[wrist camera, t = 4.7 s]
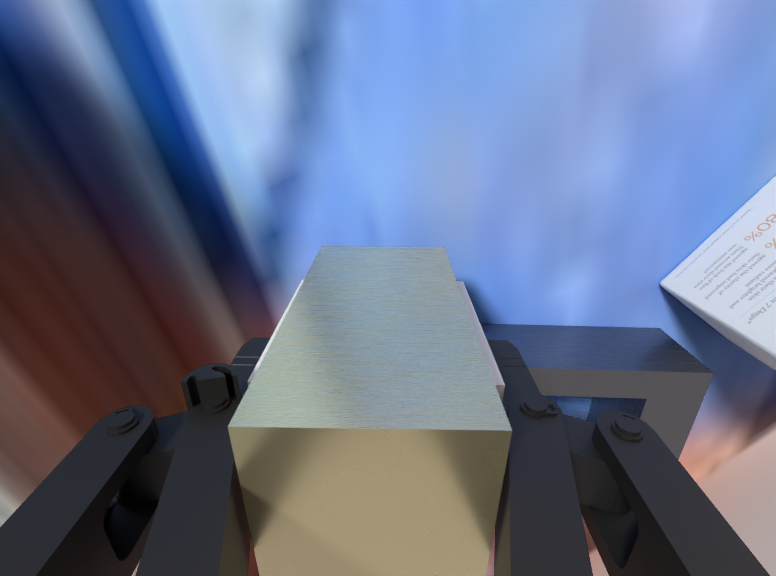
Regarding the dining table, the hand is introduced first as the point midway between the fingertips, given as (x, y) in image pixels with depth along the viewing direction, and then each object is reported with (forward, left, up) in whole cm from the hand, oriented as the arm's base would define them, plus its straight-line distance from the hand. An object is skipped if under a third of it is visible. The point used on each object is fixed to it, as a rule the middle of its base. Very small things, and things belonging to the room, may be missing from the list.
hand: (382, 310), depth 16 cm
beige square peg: (0, 0, -1) cm, 1 cm away
